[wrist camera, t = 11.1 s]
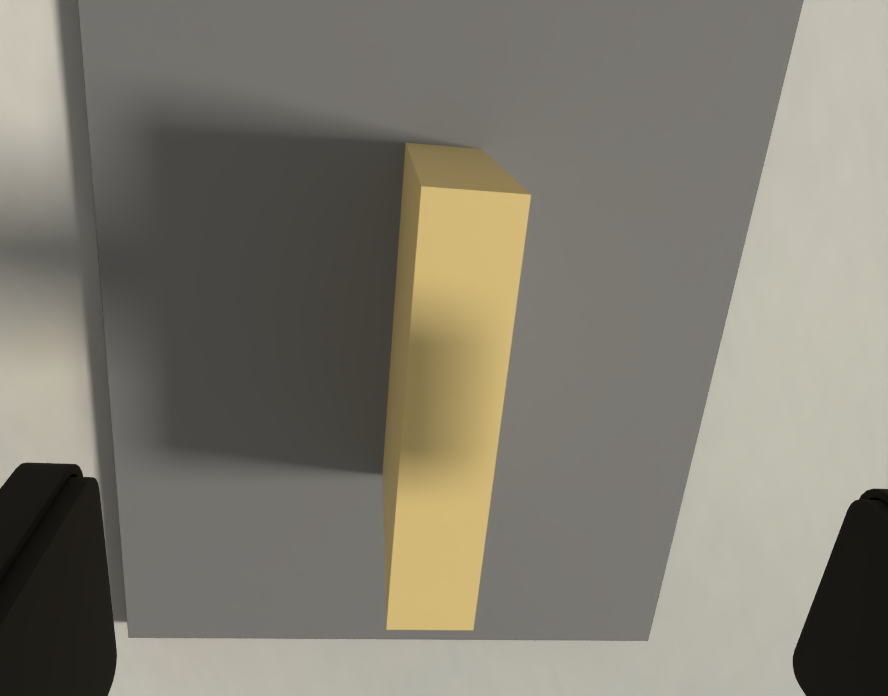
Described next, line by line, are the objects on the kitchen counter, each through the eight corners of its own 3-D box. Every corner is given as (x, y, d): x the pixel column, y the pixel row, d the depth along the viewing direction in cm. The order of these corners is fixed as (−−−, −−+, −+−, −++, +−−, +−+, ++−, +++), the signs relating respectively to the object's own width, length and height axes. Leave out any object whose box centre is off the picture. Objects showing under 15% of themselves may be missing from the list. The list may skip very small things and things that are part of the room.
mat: (76, -149, 15) (65, -156, 15) (804, -59, 17) (818, -62, 17) (134, 623, 23) (128, 637, 22) (641, 627, 24) (647, 640, 24)
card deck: (405, 142, 18) (421, 186, 12) (481, 149, 18) (531, 194, 12) (382, 474, 21) (386, 629, 15) (446, 476, 21) (473, 630, 15)
